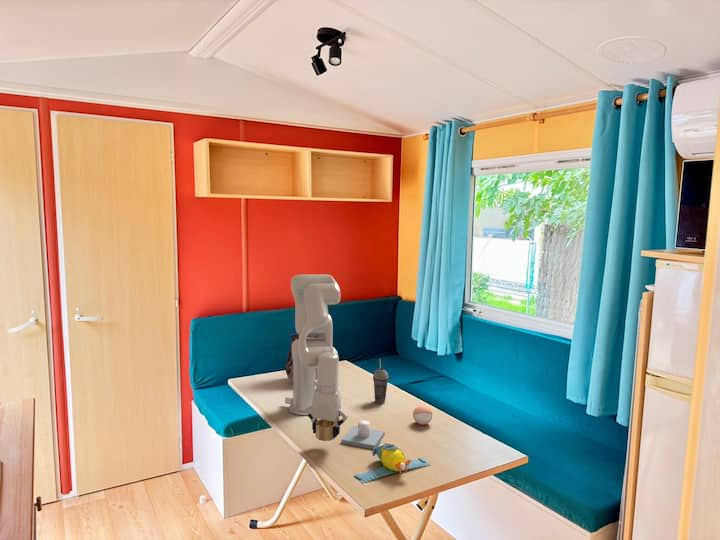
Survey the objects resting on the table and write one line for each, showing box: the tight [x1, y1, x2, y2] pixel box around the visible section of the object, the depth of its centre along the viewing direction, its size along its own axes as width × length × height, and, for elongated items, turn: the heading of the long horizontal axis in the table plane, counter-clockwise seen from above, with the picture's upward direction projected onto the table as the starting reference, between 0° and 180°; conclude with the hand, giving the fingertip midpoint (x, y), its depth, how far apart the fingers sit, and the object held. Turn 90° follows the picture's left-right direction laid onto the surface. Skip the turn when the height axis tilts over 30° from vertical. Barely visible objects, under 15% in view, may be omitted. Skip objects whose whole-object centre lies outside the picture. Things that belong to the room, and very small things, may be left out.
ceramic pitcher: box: [285, 333, 321, 383], centre depth 251 cm, size 18×21×25 cm
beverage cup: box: [372, 358, 390, 405], centre depth 228 cm, size 7×7×20 cm
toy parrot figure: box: [353, 441, 431, 484], centre depth 169 cm, size 28×9×15 cm
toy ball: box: [412, 404, 433, 426], centre depth 206 cm, size 8×8×8 cm
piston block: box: [341, 419, 385, 450], centre depth 190 cm, size 13×13×6 cm
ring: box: [314, 419, 336, 442], centre depth 181 cm, size 7×7×5 cm
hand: (325, 433), depth 182 cm, fingers closed on ring, 7 cm apart
